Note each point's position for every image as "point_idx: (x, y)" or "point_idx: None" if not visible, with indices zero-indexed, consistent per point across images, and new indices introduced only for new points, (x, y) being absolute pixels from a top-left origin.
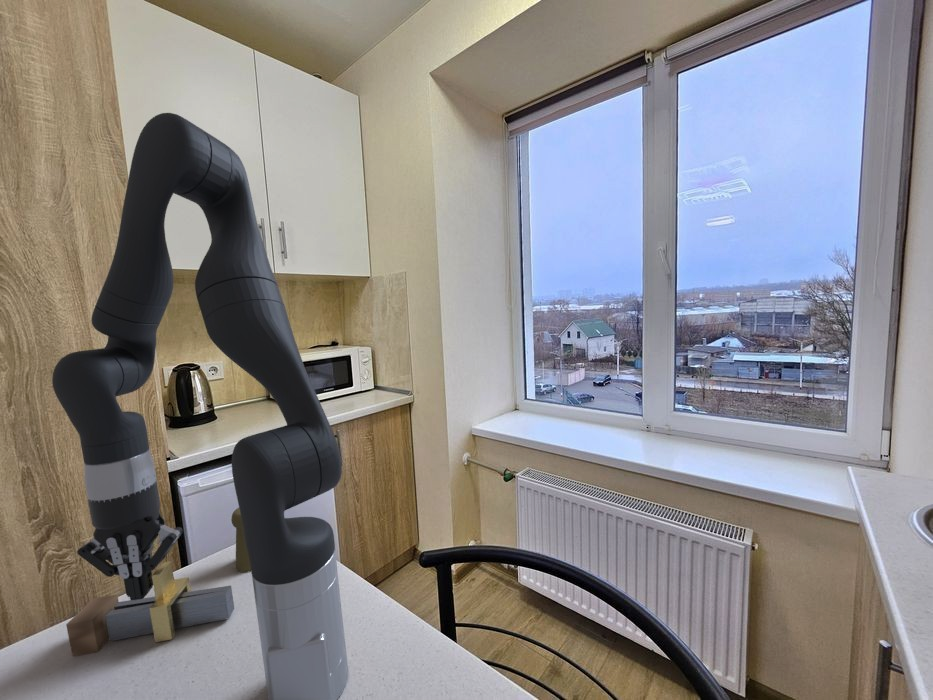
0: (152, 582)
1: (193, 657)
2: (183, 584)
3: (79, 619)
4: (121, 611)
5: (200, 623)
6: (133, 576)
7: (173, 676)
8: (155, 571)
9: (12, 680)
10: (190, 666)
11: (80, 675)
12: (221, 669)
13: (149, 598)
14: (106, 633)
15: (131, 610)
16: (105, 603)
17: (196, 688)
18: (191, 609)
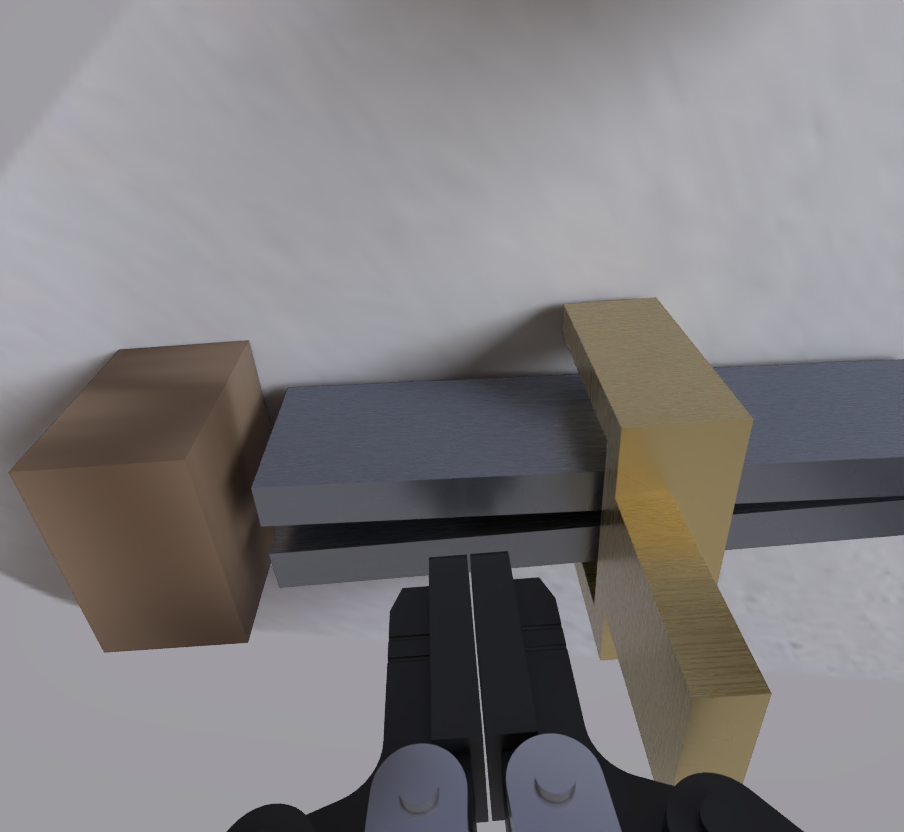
0: (557, 618)
1: (764, 569)
2: (734, 487)
3: (148, 628)
4: (359, 567)
5: None
6: (483, 806)
7: None
8: None
9: (28, 576)
10: (765, 600)
11: (323, 587)
12: (887, 620)
13: (476, 489)
14: None
15: (424, 566)
16: (186, 534)
17: (813, 665)
18: None
